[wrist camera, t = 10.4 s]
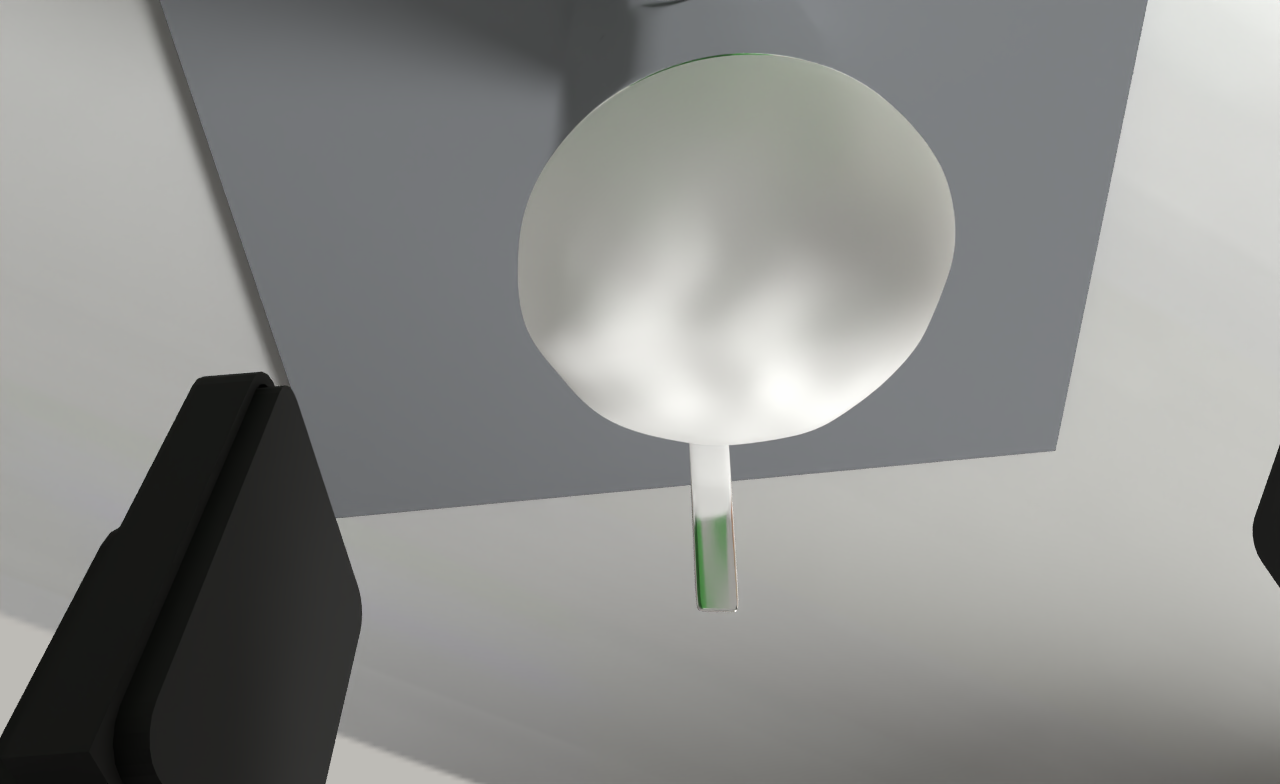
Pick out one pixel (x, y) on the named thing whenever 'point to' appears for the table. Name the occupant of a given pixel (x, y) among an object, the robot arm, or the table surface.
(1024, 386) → the mouse pad
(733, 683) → the table surface
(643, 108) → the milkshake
